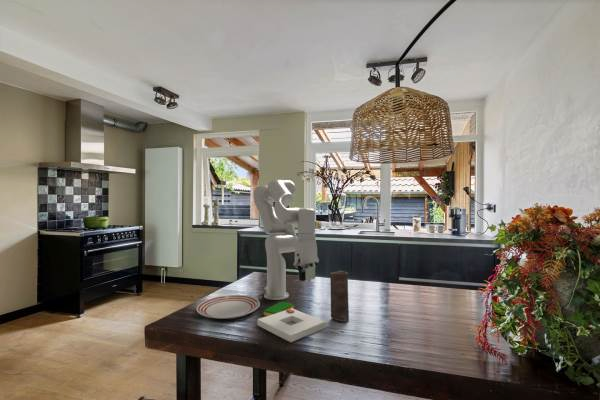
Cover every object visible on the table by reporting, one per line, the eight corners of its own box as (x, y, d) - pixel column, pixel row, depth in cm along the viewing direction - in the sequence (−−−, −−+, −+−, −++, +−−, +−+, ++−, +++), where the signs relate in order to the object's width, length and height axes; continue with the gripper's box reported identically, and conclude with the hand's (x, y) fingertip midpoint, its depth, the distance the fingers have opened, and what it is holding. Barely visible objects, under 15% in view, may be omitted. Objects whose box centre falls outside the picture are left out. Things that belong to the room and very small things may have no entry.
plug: (298, 280, 133) (297, 264, 133) (306, 278, 136) (306, 262, 136) (307, 282, 129) (306, 266, 129) (315, 280, 132) (315, 264, 132)
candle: (334, 324, 122) (334, 274, 122) (327, 317, 129) (327, 270, 129) (351, 322, 124) (351, 272, 124) (344, 315, 131) (344, 268, 131)
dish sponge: (294, 309, 141) (294, 303, 141) (276, 319, 129) (276, 313, 129) (281, 306, 144) (281, 301, 144) (263, 315, 132) (263, 310, 132)
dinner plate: (254, 324, 123) (254, 316, 123) (186, 323, 124) (186, 315, 124) (263, 301, 151) (263, 294, 151) (208, 301, 151) (208, 294, 151)
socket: (257, 325, 121) (257, 317, 121) (291, 313, 134) (291, 306, 134) (290, 342, 107) (290, 333, 107) (325, 327, 119) (325, 319, 119)
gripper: (313, 234, 141) (314, 274, 141) (286, 238, 129) (286, 281, 129) (326, 236, 136) (326, 277, 135) (298, 239, 124) (298, 284, 123)
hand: (306, 278), depth 132 cm, fingers closed on plug, 5 cm apart
